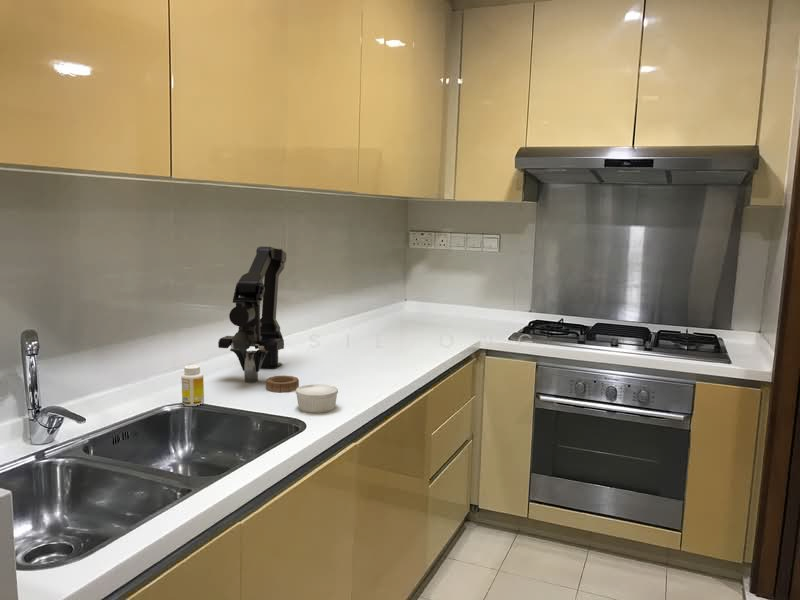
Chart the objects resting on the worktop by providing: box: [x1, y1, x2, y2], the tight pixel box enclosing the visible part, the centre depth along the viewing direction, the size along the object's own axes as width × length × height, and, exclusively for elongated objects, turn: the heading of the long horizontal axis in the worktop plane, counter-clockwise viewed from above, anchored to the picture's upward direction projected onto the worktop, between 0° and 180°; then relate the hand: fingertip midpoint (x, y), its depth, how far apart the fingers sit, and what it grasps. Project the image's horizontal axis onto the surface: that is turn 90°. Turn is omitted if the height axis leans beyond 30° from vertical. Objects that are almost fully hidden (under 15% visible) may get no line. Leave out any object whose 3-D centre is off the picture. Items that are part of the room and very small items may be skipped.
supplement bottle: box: [181, 364, 205, 407], centre depth 176 cm, size 6×6×10 cm
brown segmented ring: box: [265, 375, 300, 393], centre depth 193 cm, size 9×9×2 cm
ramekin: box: [295, 383, 339, 414], centre depth 175 cm, size 11×11×5 cm
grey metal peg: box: [243, 350, 259, 384], centre depth 200 cm, size 4×4×9 cm
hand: (251, 371), depth 200 cm, fingers closed on grey metal peg, 4 cm apart
